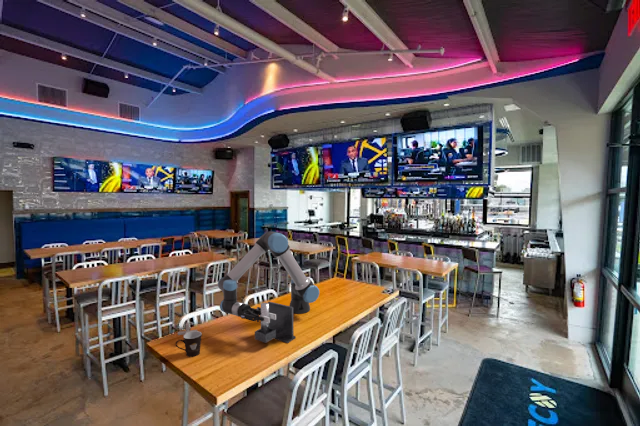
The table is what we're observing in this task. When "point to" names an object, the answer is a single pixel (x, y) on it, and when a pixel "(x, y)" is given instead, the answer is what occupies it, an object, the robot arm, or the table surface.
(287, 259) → the robot arm
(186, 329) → the pipe connector
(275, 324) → the cup bracket
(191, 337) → the coffee mug
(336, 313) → the table surface
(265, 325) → the rail post
